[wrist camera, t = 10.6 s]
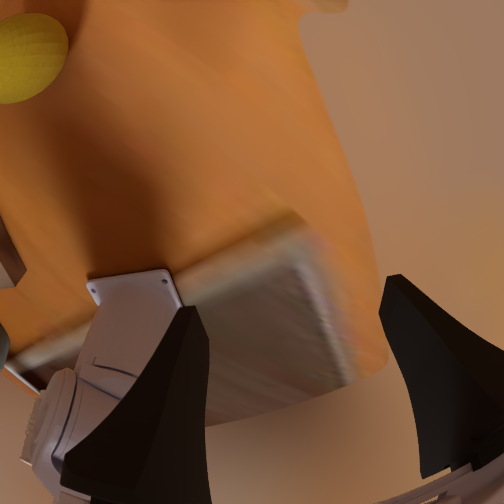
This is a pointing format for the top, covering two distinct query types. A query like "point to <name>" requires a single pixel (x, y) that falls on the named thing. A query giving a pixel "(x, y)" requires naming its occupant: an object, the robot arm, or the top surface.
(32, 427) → the stack of cups
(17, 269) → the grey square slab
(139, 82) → the top surface
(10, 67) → the lemon
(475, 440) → the robot arm
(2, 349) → the bottle
